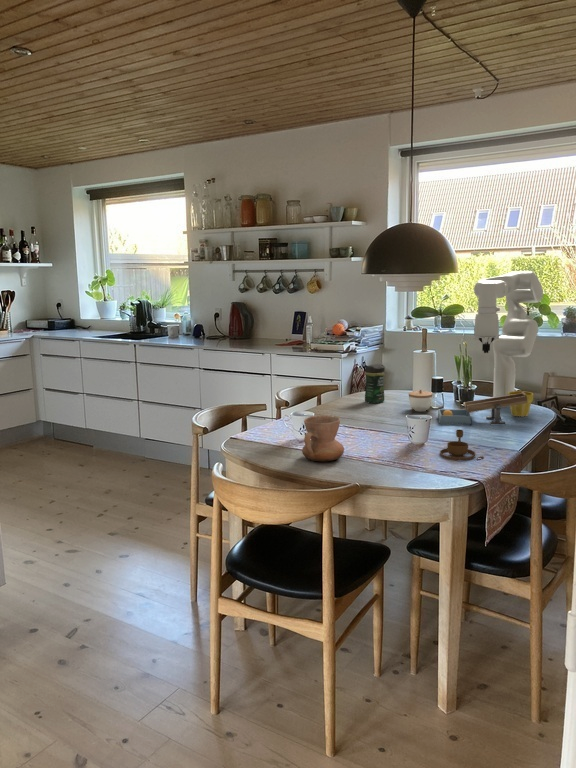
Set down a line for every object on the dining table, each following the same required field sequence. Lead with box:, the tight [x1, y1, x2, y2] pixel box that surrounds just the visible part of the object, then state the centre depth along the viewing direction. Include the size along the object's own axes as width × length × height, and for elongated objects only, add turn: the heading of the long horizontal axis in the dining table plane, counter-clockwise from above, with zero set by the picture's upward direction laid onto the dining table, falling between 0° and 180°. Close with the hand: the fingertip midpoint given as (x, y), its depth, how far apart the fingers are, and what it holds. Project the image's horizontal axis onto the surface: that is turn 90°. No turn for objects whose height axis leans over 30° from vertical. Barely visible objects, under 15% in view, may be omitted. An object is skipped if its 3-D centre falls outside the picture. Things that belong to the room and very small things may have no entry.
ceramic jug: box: [301, 414, 345, 463], centre depth 215 cm, size 18×14×14 cm
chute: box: [462, 392, 528, 414], centre depth 265 cm, size 15×24×4 cm, turn 81°
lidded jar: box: [408, 389, 434, 412], centre depth 285 cm, size 11×11×9 cm
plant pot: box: [508, 390, 534, 418], centre depth 271 cm, size 10×10×10 cm
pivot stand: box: [485, 405, 506, 425], centre depth 261 cm, size 11×6×8 cm, turn 171°
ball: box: [443, 410, 453, 416], centre depth 265 cm, size 4×4×4 cm
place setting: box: [439, 429, 485, 461], centre depth 219 cm, size 18×20×6 cm
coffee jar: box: [364, 363, 386, 404], centre depth 303 cm, size 10×8×19 cm
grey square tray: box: [437, 408, 472, 425], centre depth 264 cm, size 12×12×4 cm
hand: (485, 352), depth 275 cm, fingers closed
